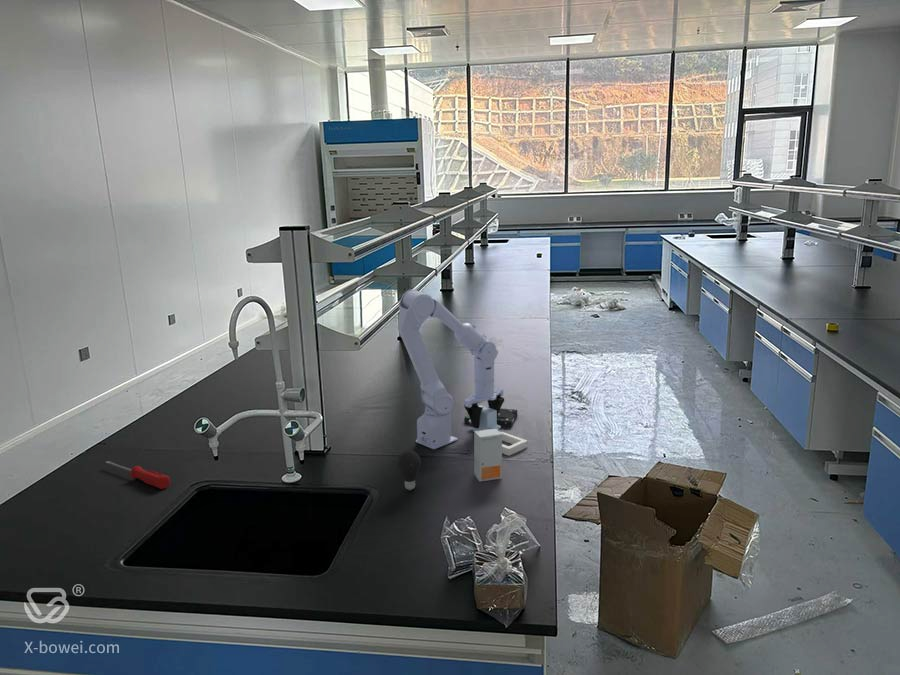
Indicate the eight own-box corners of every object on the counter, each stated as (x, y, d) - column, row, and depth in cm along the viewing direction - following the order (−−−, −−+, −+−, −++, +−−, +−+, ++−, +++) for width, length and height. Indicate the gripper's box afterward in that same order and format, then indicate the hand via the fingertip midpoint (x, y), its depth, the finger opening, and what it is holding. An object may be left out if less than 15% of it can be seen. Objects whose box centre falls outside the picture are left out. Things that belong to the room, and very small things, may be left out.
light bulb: (393, 489, 154) (392, 451, 151) (411, 482, 158) (409, 444, 155) (409, 497, 150) (407, 458, 148) (426, 489, 154) (425, 451, 151)
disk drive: (517, 417, 200) (472, 413, 204) (517, 409, 200) (472, 405, 204) (511, 430, 191) (463, 425, 195) (511, 421, 190) (463, 416, 194)
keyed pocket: (508, 455, 171) (508, 448, 171) (482, 445, 178) (482, 439, 178) (527, 447, 177) (527, 440, 176) (501, 437, 184) (501, 431, 183)
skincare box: (479, 482, 157) (479, 437, 154) (474, 475, 161) (473, 430, 158) (502, 479, 158) (502, 434, 155) (496, 471, 162) (496, 427, 159)
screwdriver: (113, 465, 171) (111, 453, 170) (172, 486, 158) (170, 473, 158) (101, 470, 168) (99, 458, 167) (159, 492, 155) (157, 479, 155)
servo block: (492, 438, 183) (492, 413, 182) (467, 429, 190) (467, 405, 189) (501, 434, 186) (501, 410, 184) (477, 425, 193) (476, 402, 191)
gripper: (476, 388, 177) (477, 434, 180) (511, 377, 186) (511, 420, 190) (459, 383, 182) (459, 428, 185) (493, 372, 191) (493, 415, 195)
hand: (484, 424), depth 188 cm, fingers open, 7 cm apart
